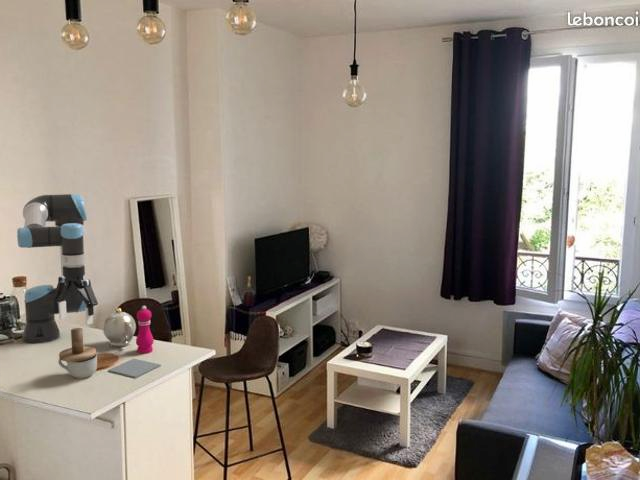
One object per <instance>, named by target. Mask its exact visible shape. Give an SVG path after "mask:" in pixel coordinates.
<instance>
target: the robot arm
mask: <svg viewBox="0 0 640 480" xmlns="http://www.w3.org/2000/svg"><path fill="white" fill-rule="evenodd" d="M87 216H88V215H87V212H86V205H85V201H84V197H83V196H82V195H81V194H70V193H69V194H68V193H67V194H63V193H62V194H42V195H38V196H36V197H34V198H32V199H30V200H29V201H28V202H27V203H26V204H25V205H24V206H23V209H22V217H23V219H24V227H19V228H17V231H16V233H17V236H16V237H17V246H18V247H19V248H21V249H22V248H24V249H25V248H26V249H27V248H28V249H31V248H45V247H46V248H47V247H59V249H60V250H59V251H60V252H59V253H60V269H61V270H60V272H61V276H58V278H57V279H58V280H57V285H56V287H54V286H53V285H52V284H41V285H37V286H32V287H30V288H29V289H27V290H26V291H25V292H24V305H25V306H24V308H25V326H24V329H23V332H22V341H23V342H25V343H31V344H38V343H48V342H52V341H54V340H57V339H58V338H60V335H61V333H60V329H59V327H58V324H57V322H56V317H55V315H58V316H59V320H64V319H66V318H68V316H67V315H68V314H71V313H73V314H74V313H81V312H85V313H84V314H85V325H86V326H87V325H91V324H94V311H95V310H94V309H95V308H94V307H95V306H97V305H98V304H99V303H98V299H97V298H96V295H95V292H94V290H93V287H92V283H91V280H90V279H86V280H85V279H84V276H85V274H86V272H85V271H86V269H85V251H84V228H83V226H84V223H85V221H87V220H88V217H87ZM46 222H54V225H55V226H47V225H46Z"/></svg>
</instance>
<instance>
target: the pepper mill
mask: <svg viewBox="0 0 640 480" xmlns="http://www.w3.org/2000/svg"><path fill="white" fill-rule="evenodd" d="M136 318H137V320H138V321H137V323H138V327H139V330H138V334H137V336H136V339H135V344H136V345H137V348H136V349H137V353H138V354H141V355H143V354H144V355H145V354H150V353H152V352H153V347H154V346H153V345H154V336H153V334H152V332H151V329H150V325H151V318H152V311H150V310H149V309H148V308H147V306H146V305H142V307H141V309H140V310H138V311H137V313H136Z"/></svg>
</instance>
